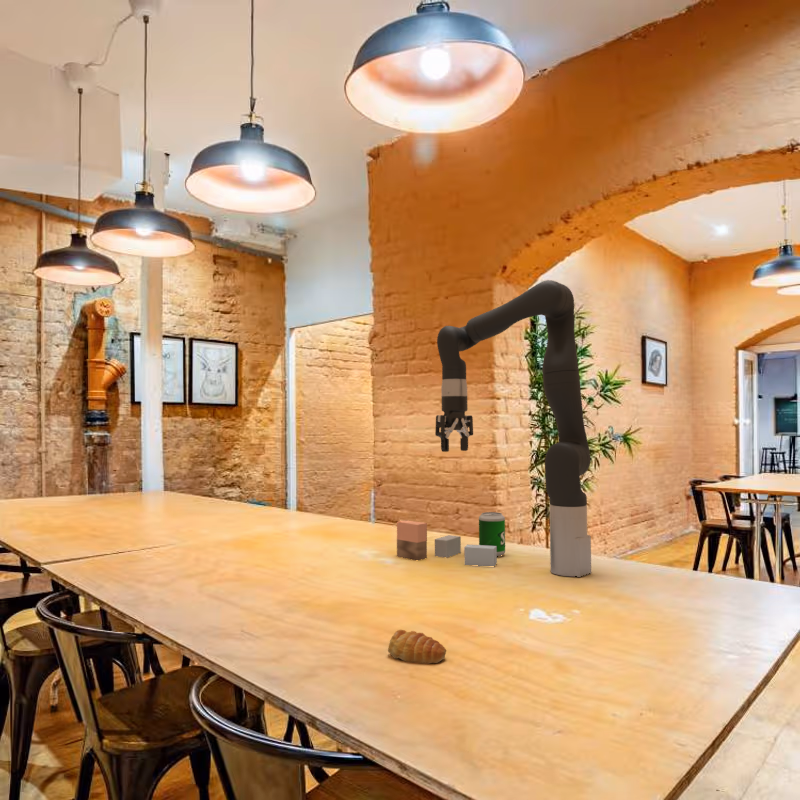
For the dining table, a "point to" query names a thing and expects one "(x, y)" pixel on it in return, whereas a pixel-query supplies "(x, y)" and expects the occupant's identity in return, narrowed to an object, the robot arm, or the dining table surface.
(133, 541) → the dining table surface
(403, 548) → the walnut brick
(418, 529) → the terracotta brick
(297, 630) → the dining table surface
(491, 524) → the soda can
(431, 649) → the pastry
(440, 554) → the slate brick
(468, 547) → the blue-grey brick
